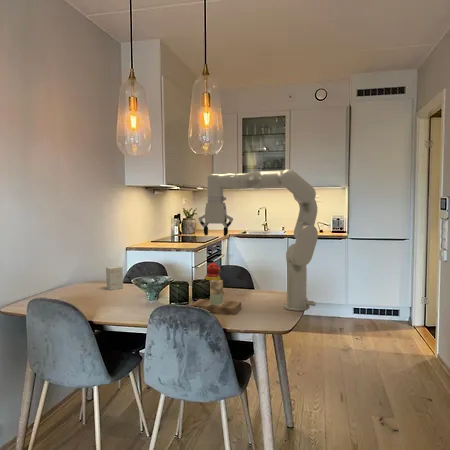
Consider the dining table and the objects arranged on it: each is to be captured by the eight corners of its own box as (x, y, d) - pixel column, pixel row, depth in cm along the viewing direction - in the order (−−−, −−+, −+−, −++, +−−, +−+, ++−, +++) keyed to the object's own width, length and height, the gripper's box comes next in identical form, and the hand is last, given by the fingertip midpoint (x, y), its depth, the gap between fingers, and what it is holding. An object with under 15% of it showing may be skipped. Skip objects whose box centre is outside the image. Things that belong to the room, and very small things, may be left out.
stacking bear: (220, 297, 220) (220, 265, 219) (202, 296, 222) (201, 264, 221) (224, 292, 231) (224, 261, 229) (207, 291, 233) (206, 261, 231)
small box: (119, 286, 248) (118, 265, 247) (123, 288, 243) (122, 267, 242) (106, 288, 243) (105, 267, 242) (110, 290, 238) (109, 268, 237)
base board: (241, 307, 199) (241, 301, 199) (234, 314, 188) (234, 308, 187) (199, 304, 205) (199, 298, 205) (190, 311, 194) (190, 304, 194)
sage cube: (223, 302, 198) (223, 292, 198) (219, 305, 193) (219, 294, 193) (213, 301, 199) (213, 291, 199) (210, 304, 195) (209, 294, 194)
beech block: (222, 292, 198) (222, 280, 197) (219, 294, 193) (219, 282, 192) (213, 291, 199) (213, 279, 199) (209, 294, 194) (209, 281, 194)
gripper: (235, 199, 194) (235, 235, 195) (201, 199, 199) (201, 234, 200) (230, 199, 186) (230, 236, 188) (195, 200, 191) (196, 235, 193)
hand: (215, 235), depth 194 cm, fingers open, 9 cm apart
